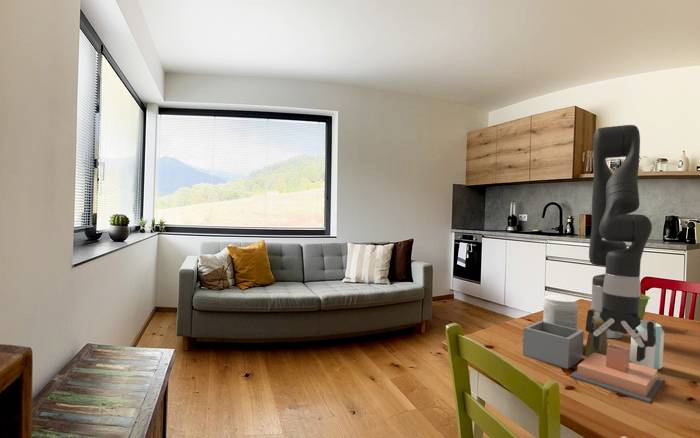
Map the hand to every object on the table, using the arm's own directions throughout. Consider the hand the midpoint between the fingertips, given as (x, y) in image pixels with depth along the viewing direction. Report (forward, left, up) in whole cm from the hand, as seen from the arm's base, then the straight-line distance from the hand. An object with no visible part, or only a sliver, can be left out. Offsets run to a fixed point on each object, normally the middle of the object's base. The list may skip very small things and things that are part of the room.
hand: (617, 355), depth 93 cm
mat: (0, 0, -6) cm, 6 cm away
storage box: (-2, -16, -6) cm, 17 cm away
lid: (0, 0, -6) cm, 6 cm away
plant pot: (-65, -10, -6) cm, 66 cm away
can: (-17, +3, -6) cm, 18 cm away
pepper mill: (-14, -8, -6) cm, 17 cm away
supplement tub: (-16, -19, -6) cm, 26 cm away
